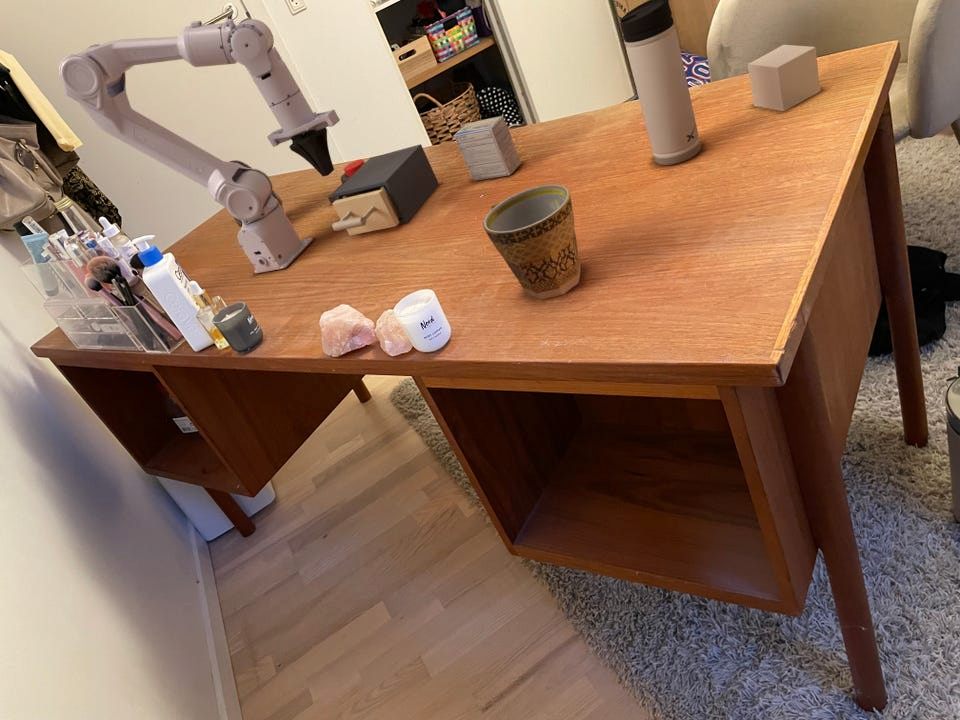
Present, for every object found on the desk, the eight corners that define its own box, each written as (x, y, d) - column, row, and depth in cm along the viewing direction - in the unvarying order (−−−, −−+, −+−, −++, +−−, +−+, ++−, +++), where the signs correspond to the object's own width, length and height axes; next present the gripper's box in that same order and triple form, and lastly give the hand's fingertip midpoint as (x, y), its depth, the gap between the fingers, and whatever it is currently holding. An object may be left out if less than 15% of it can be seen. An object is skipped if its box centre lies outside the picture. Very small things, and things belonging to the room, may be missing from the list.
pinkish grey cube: (789, 87, 98) (783, 44, 94) (820, 91, 93) (815, 46, 89) (754, 106, 97) (747, 64, 94) (783, 111, 92) (777, 67, 89)
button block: (369, 196, 134) (361, 180, 132) (331, 205, 139) (323, 189, 137) (396, 167, 142) (389, 152, 140) (359, 177, 147) (352, 162, 145)
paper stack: (522, 163, 115) (504, 114, 110) (510, 176, 112) (490, 127, 108) (485, 169, 120) (466, 122, 115) (472, 182, 117) (452, 134, 113)
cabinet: (407, 223, 114) (386, 180, 110) (355, 233, 120) (333, 193, 116) (439, 184, 123) (421, 143, 119) (389, 196, 129) (370, 157, 125)
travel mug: (709, 152, 91) (676, -4, 80) (660, 170, 92) (621, 19, 82) (697, 138, 96) (665, -12, 85) (651, 155, 97) (613, 10, 87)
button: (360, 175, 136) (356, 167, 135) (343, 179, 138) (339, 171, 137) (370, 165, 139) (366, 157, 138) (354, 169, 141) (350, 161, 140)
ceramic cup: (613, 268, 77) (587, 190, 72) (547, 317, 75) (515, 239, 69) (546, 247, 88) (519, 177, 82) (486, 289, 85) (454, 220, 80)
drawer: (382, 242, 109) (364, 208, 106) (335, 251, 114) (316, 218, 111) (427, 189, 121) (412, 157, 117) (382, 199, 126) (366, 169, 123)
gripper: (329, 74, 109) (371, 152, 116) (268, 99, 116) (311, 171, 124) (305, 93, 104) (350, 172, 111) (244, 117, 112) (289, 190, 119)
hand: (328, 173), depth 117 cm, fingers closed
